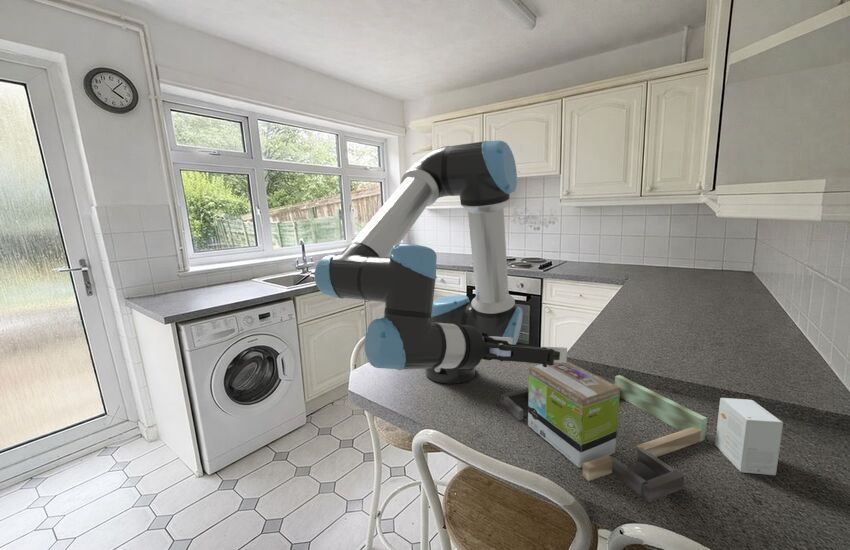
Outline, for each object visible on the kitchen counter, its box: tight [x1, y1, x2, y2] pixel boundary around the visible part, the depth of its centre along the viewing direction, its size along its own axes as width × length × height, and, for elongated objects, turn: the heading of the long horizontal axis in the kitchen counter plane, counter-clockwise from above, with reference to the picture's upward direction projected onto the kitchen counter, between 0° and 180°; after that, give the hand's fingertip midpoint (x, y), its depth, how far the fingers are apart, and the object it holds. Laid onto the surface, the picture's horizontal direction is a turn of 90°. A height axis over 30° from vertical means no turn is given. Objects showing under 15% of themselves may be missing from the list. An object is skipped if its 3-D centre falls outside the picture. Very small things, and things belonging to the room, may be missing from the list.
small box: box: [714, 397, 784, 476], centre depth 66 cm, size 8×6×10 cm
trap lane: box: [500, 374, 708, 503], centre depth 77 cm, size 36×31×5 cm
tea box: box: [527, 360, 620, 469], centre depth 73 cm, size 15×10×15 cm, turn 24°
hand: (536, 349), depth 72 cm, fingers open, 13 cm apart
